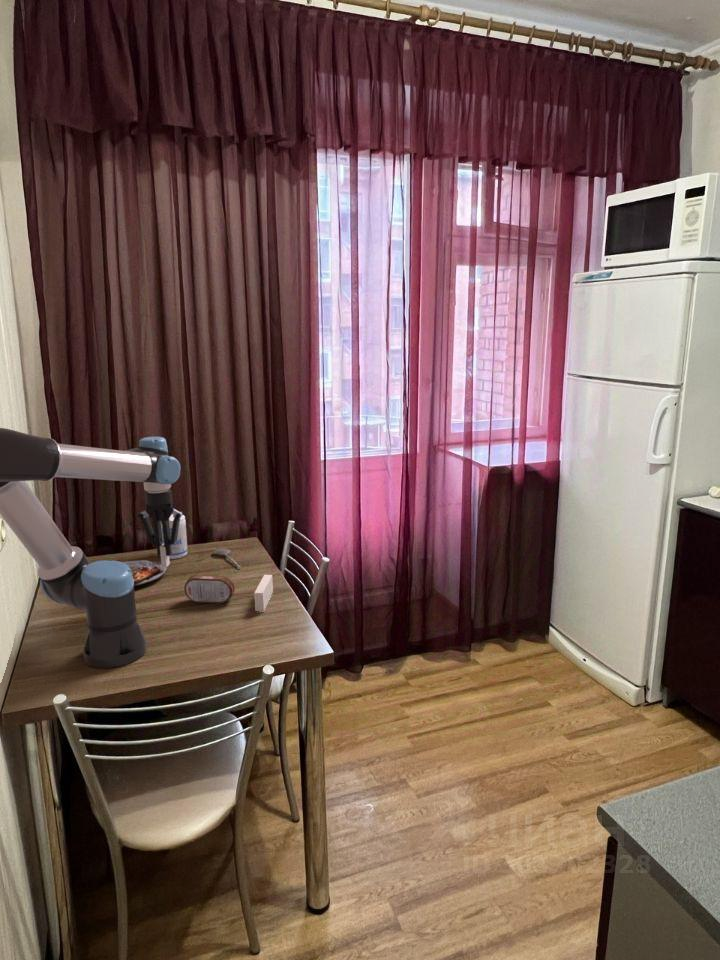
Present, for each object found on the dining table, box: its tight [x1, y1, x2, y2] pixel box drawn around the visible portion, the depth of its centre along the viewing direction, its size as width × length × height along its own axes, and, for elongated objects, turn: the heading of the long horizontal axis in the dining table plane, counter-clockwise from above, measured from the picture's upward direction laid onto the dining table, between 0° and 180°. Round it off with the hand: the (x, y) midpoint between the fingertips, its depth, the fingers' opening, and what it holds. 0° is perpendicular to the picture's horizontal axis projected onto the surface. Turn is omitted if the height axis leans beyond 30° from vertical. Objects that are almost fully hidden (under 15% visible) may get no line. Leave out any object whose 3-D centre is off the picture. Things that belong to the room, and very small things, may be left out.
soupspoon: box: [212, 548, 243, 570], centre depth 227 cm, size 22×3×7 cm
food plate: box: [121, 559, 168, 587], centre depth 211 cm, size 25×23×4 cm
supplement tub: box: [161, 513, 188, 560], centre depth 231 cm, size 10×10×15 cm
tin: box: [183, 574, 235, 604], centre depth 191 cm, size 15×3×8 cm, turn 84°
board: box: [253, 574, 274, 613], centre depth 190 cm, size 14×2×6 cm, turn 177°
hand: (165, 565), depth 191 cm, fingers closed
